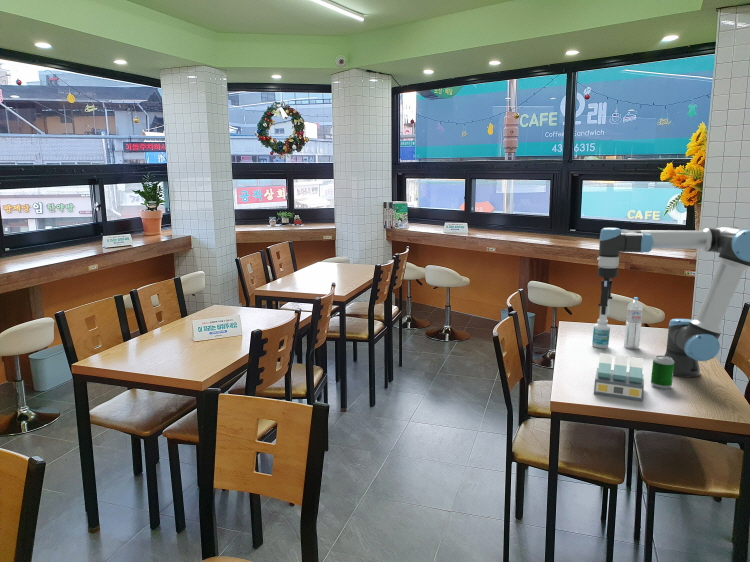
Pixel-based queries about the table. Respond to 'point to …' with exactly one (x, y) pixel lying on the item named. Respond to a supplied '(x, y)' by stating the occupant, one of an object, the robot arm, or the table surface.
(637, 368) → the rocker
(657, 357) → the soda can
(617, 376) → the rocker
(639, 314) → the water bottle
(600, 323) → the pill bottle
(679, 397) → the table surface
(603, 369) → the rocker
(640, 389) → the switch unit
